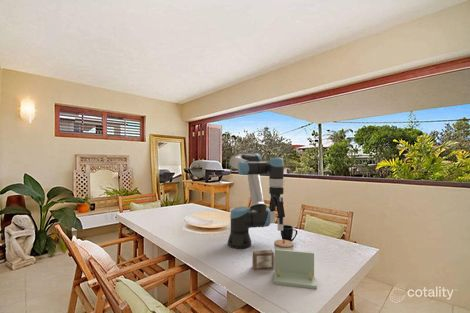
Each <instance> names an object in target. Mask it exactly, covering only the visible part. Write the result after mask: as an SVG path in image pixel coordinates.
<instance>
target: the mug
mask: <svg viewBox="0 0 470 313" xmlns="http://www.w3.org/2000/svg"><path fill="white" fill-rule="evenodd" d="M294 232H295V234H294ZM293 235H294V236H293ZM297 235H298V230H297V229H294V227H293V225H288V224H283V230H282V231H280V236H281V240H289V241H291V242H293V241H294V240H295V238H297V237H296V236H297Z"/></svg>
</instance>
